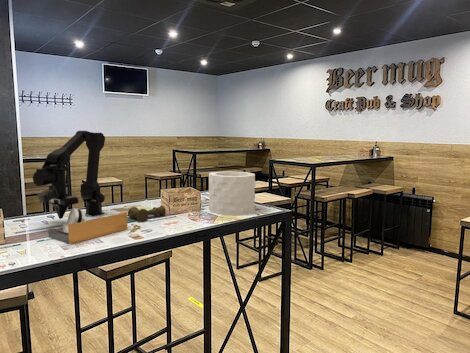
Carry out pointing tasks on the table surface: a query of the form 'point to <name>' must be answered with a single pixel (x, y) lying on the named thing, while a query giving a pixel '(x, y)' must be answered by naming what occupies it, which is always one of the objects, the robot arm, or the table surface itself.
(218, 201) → the basket
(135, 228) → the brass key
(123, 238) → the table surface
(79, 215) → the hinge
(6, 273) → the table surface
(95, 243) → the table surface
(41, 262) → the table surface
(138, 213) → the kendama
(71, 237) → the wooden rectangular panel
